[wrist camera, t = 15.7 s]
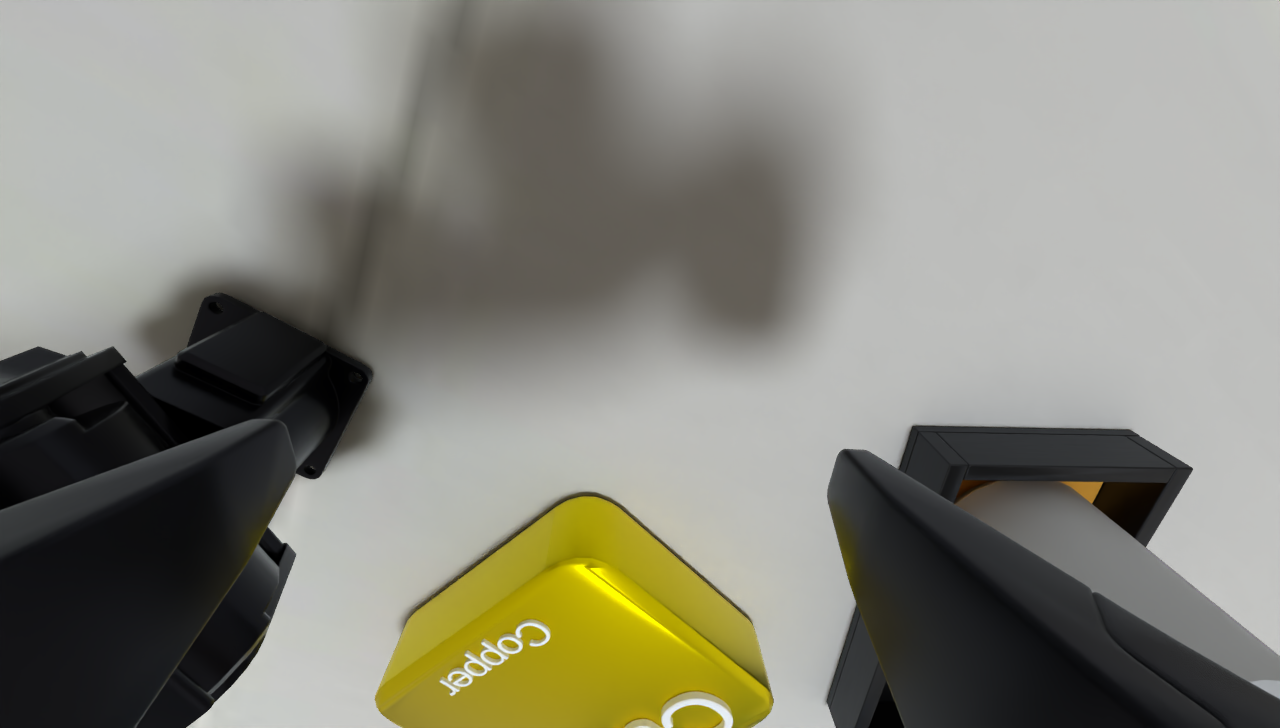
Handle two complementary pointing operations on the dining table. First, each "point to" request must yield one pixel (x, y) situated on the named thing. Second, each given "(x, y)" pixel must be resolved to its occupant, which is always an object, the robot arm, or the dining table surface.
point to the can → (1119, 570)
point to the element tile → (578, 638)
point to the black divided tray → (968, 456)
